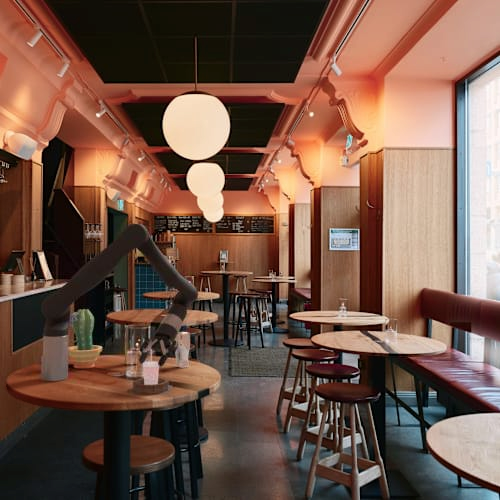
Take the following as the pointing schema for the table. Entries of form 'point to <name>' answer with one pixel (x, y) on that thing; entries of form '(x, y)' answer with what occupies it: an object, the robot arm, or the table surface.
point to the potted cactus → (83, 340)
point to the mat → (157, 393)
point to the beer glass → (182, 349)
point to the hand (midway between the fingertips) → (150, 364)
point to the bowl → (150, 386)
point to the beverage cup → (151, 372)
